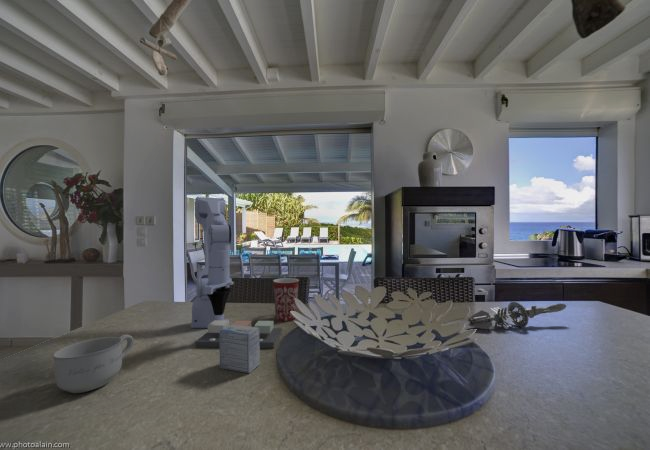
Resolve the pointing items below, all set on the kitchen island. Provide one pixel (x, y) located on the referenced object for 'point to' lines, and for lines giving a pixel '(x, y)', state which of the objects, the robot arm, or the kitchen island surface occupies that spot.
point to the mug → (285, 298)
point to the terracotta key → (242, 323)
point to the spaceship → (511, 315)
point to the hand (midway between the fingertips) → (218, 314)
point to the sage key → (265, 326)
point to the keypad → (264, 339)
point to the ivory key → (217, 326)
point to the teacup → (89, 363)
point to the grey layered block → (239, 348)
